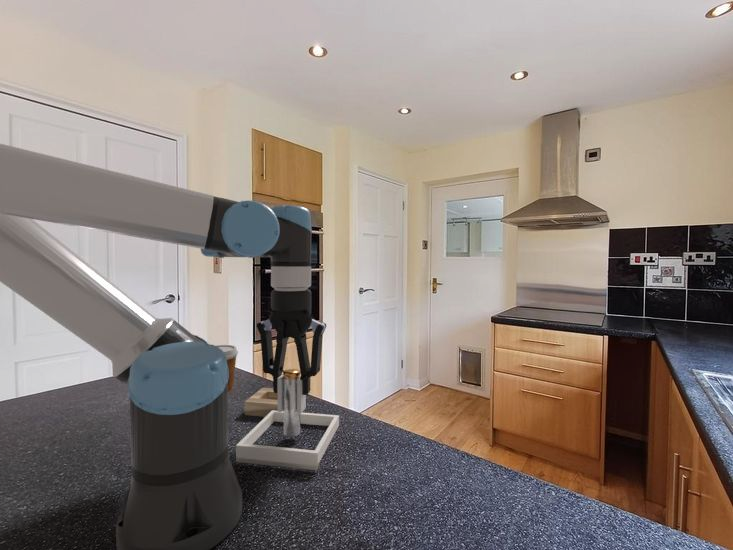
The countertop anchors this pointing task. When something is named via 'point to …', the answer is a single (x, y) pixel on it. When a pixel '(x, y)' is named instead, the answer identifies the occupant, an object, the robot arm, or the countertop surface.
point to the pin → (290, 403)
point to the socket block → (262, 403)
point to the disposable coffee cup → (230, 362)
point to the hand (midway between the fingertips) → (291, 409)
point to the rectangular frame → (286, 455)
